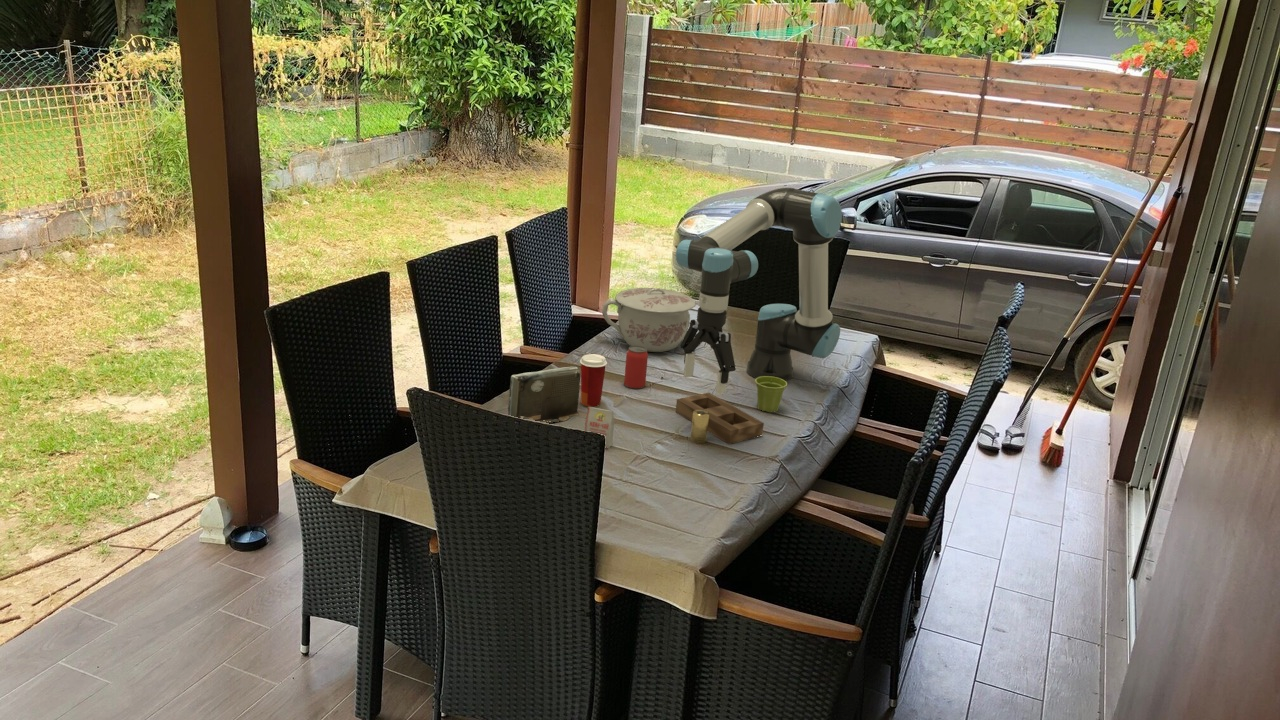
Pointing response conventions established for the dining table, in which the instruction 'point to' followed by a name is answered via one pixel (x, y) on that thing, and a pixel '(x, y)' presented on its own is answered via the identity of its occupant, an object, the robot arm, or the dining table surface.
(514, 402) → the radio
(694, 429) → the brass bushing
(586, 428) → the tea bag
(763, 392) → the plant pot
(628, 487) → the dining table surface
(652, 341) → the chamber pot
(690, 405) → the frame
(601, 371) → the paper cup
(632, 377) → the beer can
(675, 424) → the dining table surface
